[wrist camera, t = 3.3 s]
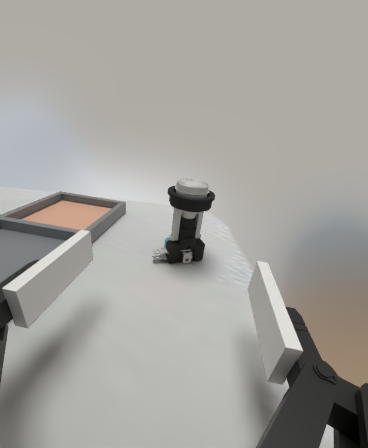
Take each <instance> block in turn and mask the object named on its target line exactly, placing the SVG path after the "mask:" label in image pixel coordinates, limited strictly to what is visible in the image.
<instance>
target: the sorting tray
mask: <svg viewBox="0 0 368 448" xmlns="http://www.w3.org/2000/svg"><path fill="white" fill-rule="evenodd" d="M125 212H126V202H121V201H115V200H109V199H103V198H97V197H91V196H85V195H78V194H72V193H66V192H58V193H55V194H53V195H50V196H47V197H45V198H42V199H40V200H37V201H35V202H32V203H30V204H27V205H25V206H22V207H19V208H17V209H14V210H12V211H9V212H7V213H4V214H2V215H0V283H1V282H2V281H4V280H5V279H7V278H8V277H9V276H11V275H12V274H14V273H15V272H16V271H18V270H20V269H21V268H22V267H23V266H25V265H26V264H28V263H30V262H32V261H35V260H37V259H38V260H41V259H42V258H44V257H45V256H46V255H48V254H49V253H50V252H52V251H53V250H55V249H56V248H57V247H59V246H60V245H61V244H63V243H64V242H65V241H67V240H68V239H69V238H71V237H72V236H73V235H75V234H76V233H78V232H79V231H80V230H86V231H90V232H91V242H92V243H93V242H94V241H95V240H96V239H97V238H98V237H99V236H100V235H102V234H103V233H104V232H105V231H106V230H107V229H108V228H109V227H110V226H111V225H112V224H113V223H115V222H116V221H117V220H118V219H119V218H120V217H121V216H122V215H123V214H124V213H125Z"/></svg>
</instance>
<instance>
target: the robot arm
mask: <svg viewBox="0 0 368 448" xmlns="http://www.w3.org/2000/svg"><path fill="white" fill-rule="evenodd" d="M92 260H93V253H92V242H91V232H90V231H86V230H80V231H79V232H78V233H76V234H75V235H73V236H72V237H71V238H69V239H68V240H67V241H65V242H64V243H63V244H61V245H60V246H59V247H57V248H56V249H55V250H53V251H52V252H50V253H49V254H48V255H46V256H45V257H44V258H42V259H41V260H38V259H37V260H35V261H32V262H30V263H28V264H26V265H25V266H23V267H22V268H21V269H20V270H18V271H16V272H15V273H14V274H12V275H11V276H9V277H8V278H7V279H5V280H4V281H2V282H1V283H0V383H1V375H2V368H3V361H4V354H5V347H6V340H7V333H8V325H7V323H8V322H9V321H10V320H11V319H13V321H14V323H15V326H19V327H24V328H29V327H30V326H31V325H32V324H33V323H34V322H35V321H36V320H37V318H38V317H39V316H40V315H41V314H42V313H43V312H44V311H45V310H46V309H47V308H48V307H49V306H50V305H51V304H52V303H53V302H54V300H55V299H56V298H57V297H58V296H59V295H60V294H61V293H62V292H63V291H64V290H65V289H66V288H67V287H68V286H69V285H70V284H71V283H72V281H73V280H74V279H75V278H76V277H77V276H78V275H79V274H80V273H81V272H82V271H83V270H84V269H85V268H86V267H87V266H88V265H89V263H90V262H91V261H92ZM248 292H249V297H250V302H251V307H252V311H253V316H254V321H255V326H256V330H257V335H258V340H259V345H260V349H261V354H262V359H263V364H264V368H265V373H266V378H267V381H268V382H273V383H277V384H282V385H283V383H284V382H285V380H286V378H287V381H288V384H289V389H288V390H287V392H286V393H285V395H284V397H283V399H282V401H281V403H280V405H279V407H278V409H277V410H276V412H275V414H274V416H273V418H272V419H271V421H270V423H269V425H268V427H267V428H266V430H265V432H264V434H263V436H262V438H261V439H260V441H259V443H258V445H257V447H256V448H319V446H320V443H321V440H322V437H323V434H324V431H325V428H326V425H327V424H328V425H330V426H331V427H333V428H334V448H368V383H365V384H363V385H362V386H361V387H360V388H359V387H358V386H355V385H354V384H352V383H350V382H348V381H346V380H344V379H342V378H340V377H338V376H337V374H336V372H335V371H334V370H333V368H332V367H331V366H329V364H327V363H326V362H325V361H323V360H322V359H321V357H320V355H319V352H318V350H317V349H316V346H315V344H314V342H313V340H312V338H311V336H310V333H308V329H307V327H306V326H305V323H304V321H303V319H302V316H301V315H300V314H299V313H298V312H297V311H296V310H295V308H289V307H285V305H284V302H283V300H282V298H281V295H280V293H279V290H278V287H277V285H276V282H275V280H274V278H273V275H272V272H271V270H270V267H269V265H268V263H266V262H260V261H257V263H256V266H255V269H254V272H253V275H252V278H251V281H250V284H249V287H248Z"/></svg>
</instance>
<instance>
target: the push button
mask: <svg viewBox="0 0 368 448" xmlns="http://www.w3.org/2000/svg"><path fill="white" fill-rule="evenodd" d="M208 187H209V185H208V184H207V183H205V182H202V181H197V180H191V179H180V180H178V181H177V185H176V186H172V187H170V188H169V189H168V194H169V195H170V199H169V201H170V204H171V206H173V207H174V214H173V224H172V233H171V235H169V238H167V239H165V247H164V248H161V249H157V250H153V252H154V254H159V253H163V254H161V255H157V256H153V259H154V260H160V259H163V260H165V259H167V261H168V263H175V262H182V261H183V263H190V262H191V260H196V261H200V260H202V258H203V252H204V247H205V244H204V243H203V242H202V240H201V239H200V237H201V234H200V229H201V224H202V218H203V212H204V211H207V210H209V209H210V208H211V204H212V201H213V200H214V198H215V194H214V193H213V192H211V191H209V190H208ZM181 212H182V214H181ZM156 251H159V252H156ZM156 257H159V258H156Z"/></svg>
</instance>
